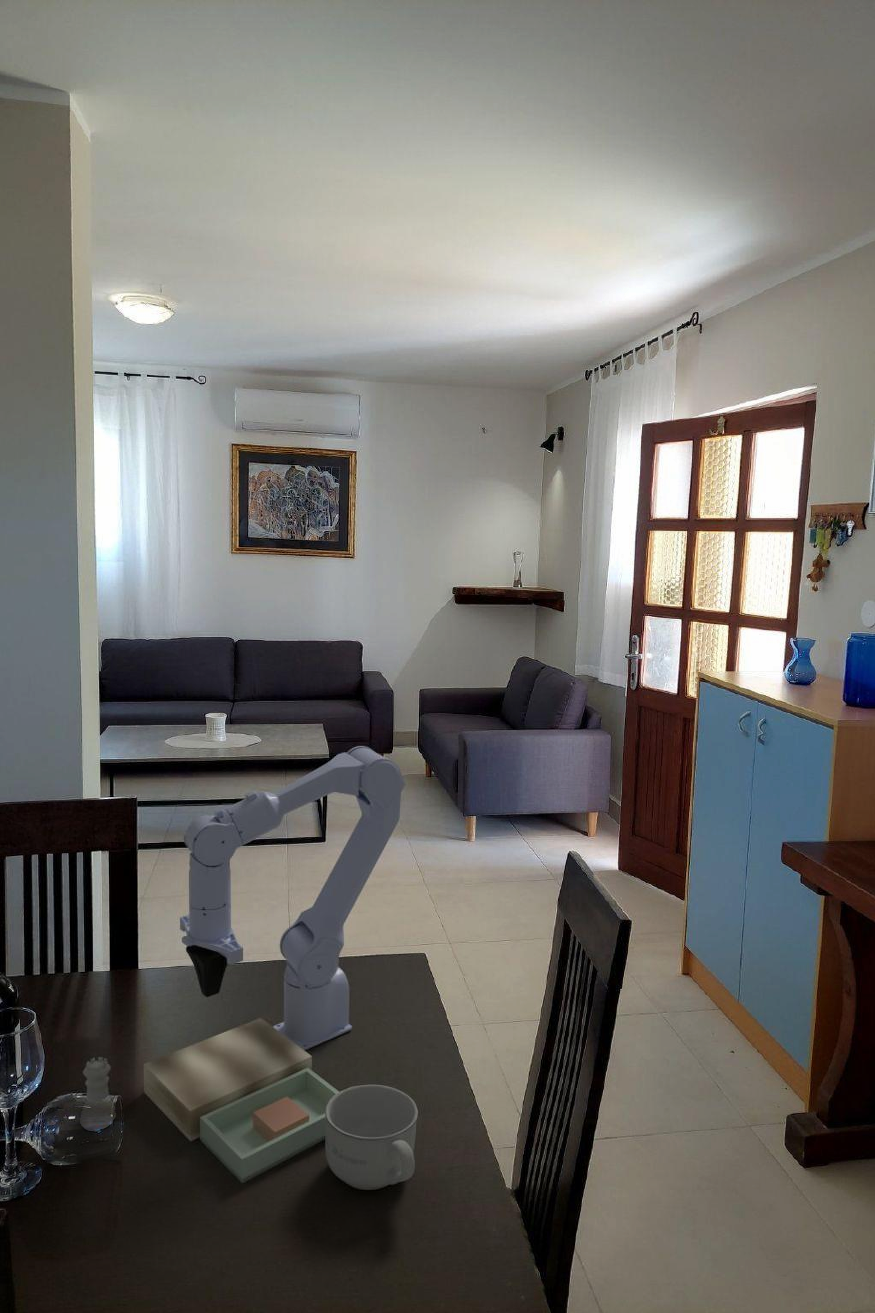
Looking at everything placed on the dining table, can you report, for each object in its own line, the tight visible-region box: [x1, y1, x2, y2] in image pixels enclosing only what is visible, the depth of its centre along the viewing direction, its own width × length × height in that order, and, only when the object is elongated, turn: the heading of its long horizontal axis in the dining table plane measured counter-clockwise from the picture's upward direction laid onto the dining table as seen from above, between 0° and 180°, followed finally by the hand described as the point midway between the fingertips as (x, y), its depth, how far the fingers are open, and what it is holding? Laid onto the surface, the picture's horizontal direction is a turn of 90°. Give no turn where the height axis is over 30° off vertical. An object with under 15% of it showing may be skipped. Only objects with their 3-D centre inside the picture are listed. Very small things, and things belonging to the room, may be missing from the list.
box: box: [199, 1068, 340, 1184], centre depth 111 cm, size 16×10×3 cm, turn 133°
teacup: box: [324, 1084, 419, 1191], centre depth 102 cm, size 14×11×8 cm
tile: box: [253, 1097, 309, 1141], centre depth 111 cm, size 5×5×2 cm
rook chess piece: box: [82, 1056, 112, 1102], centre depth 111 cm, size 4×4×8 cm
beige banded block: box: [143, 1017, 313, 1142], centre depth 119 cm, size 18×13×4 cm
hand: (210, 993), depth 126 cm, fingers closed
